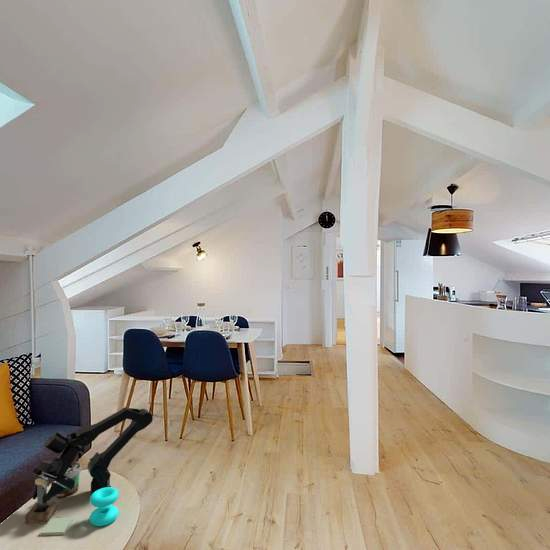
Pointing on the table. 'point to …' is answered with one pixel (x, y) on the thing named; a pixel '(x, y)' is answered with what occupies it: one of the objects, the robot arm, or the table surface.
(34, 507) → the socket block
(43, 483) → the t key
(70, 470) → the food container
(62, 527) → the mat
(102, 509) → the donuts
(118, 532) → the table surface
